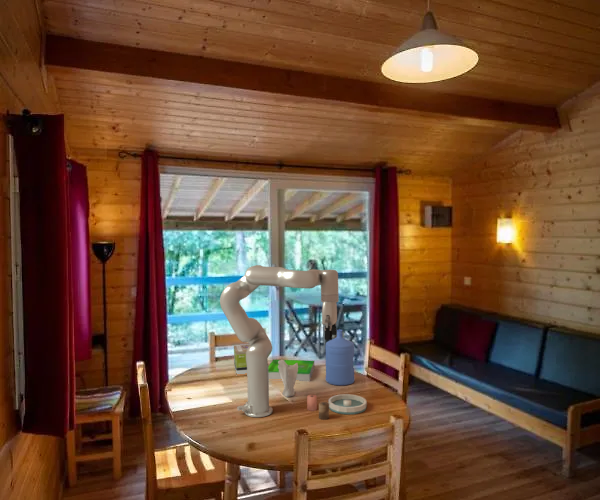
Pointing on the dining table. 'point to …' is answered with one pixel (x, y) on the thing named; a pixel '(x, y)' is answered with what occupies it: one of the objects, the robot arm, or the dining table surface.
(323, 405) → the walnut bead
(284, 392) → the shell sculpture
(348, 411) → the groove dish
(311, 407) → the coral bead
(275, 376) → the tray
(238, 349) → the tea box
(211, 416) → the dining table surface
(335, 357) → the water jug
